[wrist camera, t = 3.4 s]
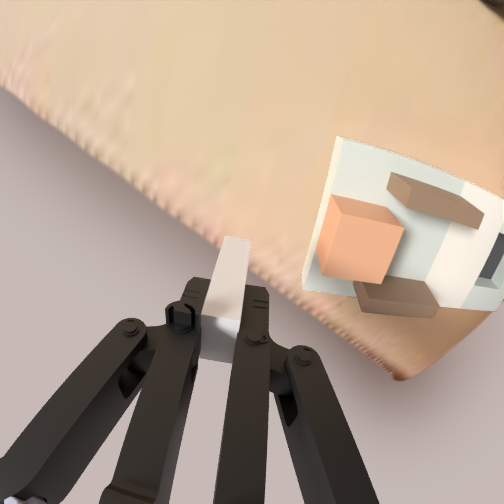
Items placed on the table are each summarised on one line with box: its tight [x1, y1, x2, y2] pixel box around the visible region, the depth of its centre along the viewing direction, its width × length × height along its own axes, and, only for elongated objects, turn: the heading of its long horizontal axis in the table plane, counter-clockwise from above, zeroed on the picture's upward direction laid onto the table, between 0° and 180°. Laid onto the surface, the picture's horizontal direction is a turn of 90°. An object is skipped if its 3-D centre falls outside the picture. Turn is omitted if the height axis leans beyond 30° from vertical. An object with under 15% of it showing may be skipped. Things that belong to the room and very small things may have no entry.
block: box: [316, 194, 404, 284], centre depth 21 cm, size 5×5×4 cm
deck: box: [301, 135, 504, 318], centre depth 22 cm, size 14×29×6 cm, turn 82°
